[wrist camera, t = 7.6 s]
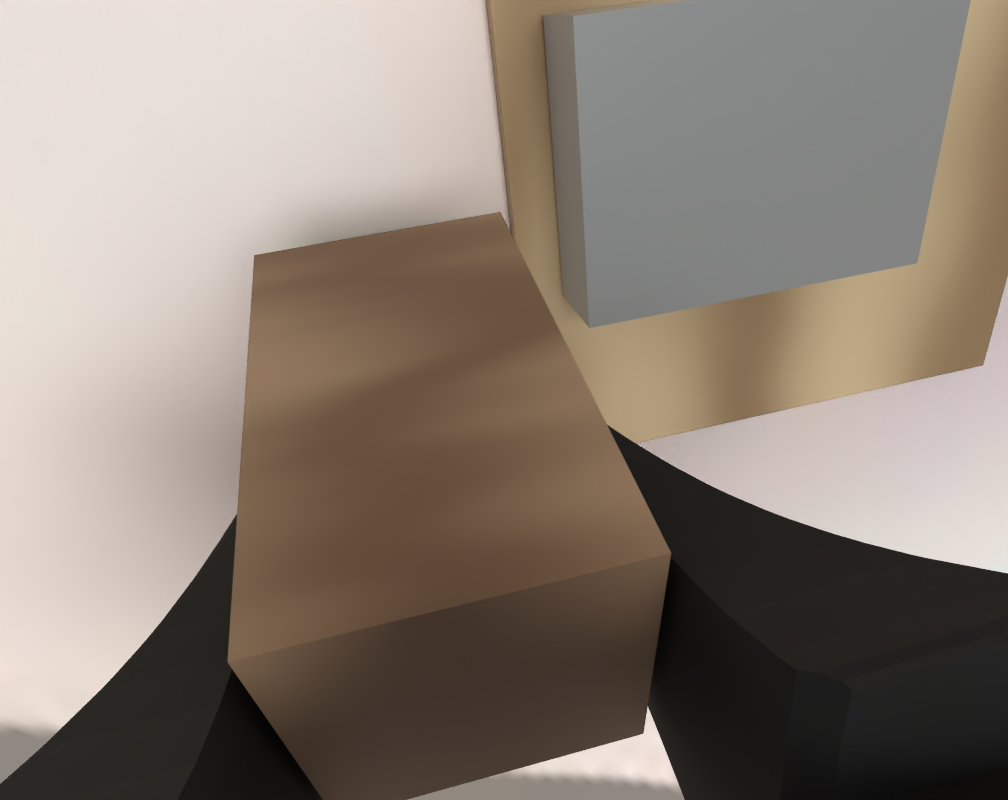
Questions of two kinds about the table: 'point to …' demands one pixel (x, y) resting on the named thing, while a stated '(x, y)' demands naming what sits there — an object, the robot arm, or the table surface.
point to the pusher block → (432, 520)
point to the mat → (786, 313)
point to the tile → (742, 144)
